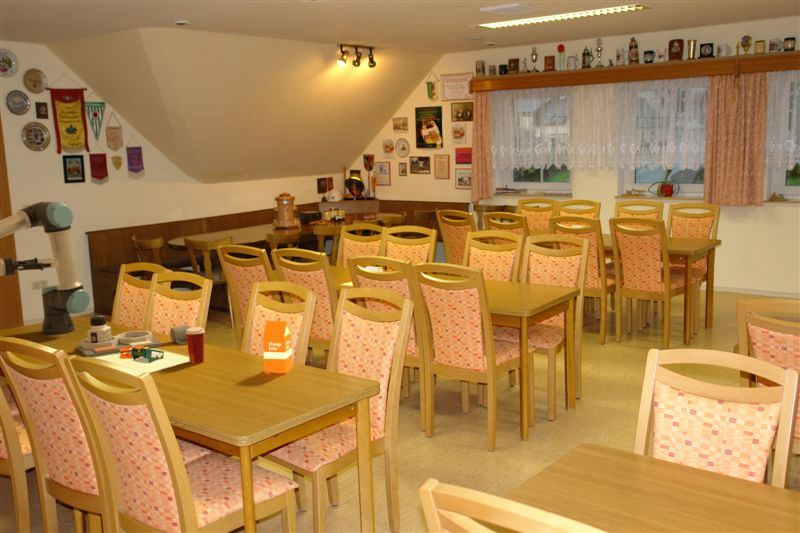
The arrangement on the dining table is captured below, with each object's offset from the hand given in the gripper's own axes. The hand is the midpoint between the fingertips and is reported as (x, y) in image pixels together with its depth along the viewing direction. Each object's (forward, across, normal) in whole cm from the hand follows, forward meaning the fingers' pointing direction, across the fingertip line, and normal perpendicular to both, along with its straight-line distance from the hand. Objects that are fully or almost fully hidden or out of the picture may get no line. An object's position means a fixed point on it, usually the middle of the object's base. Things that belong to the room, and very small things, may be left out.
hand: (56, 262), depth 350 cm
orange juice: (+61, +103, -38) cm, 126 cm away
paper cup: (+40, +70, -38) cm, 89 cm away
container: (+12, +20, -37) cm, 44 cm away
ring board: (+20, +23, -38) cm, 49 cm away
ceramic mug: (+45, +32, -38) cm, 68 cm away
